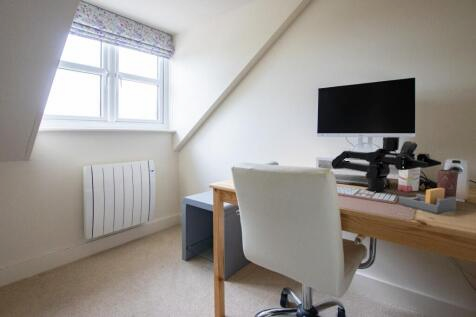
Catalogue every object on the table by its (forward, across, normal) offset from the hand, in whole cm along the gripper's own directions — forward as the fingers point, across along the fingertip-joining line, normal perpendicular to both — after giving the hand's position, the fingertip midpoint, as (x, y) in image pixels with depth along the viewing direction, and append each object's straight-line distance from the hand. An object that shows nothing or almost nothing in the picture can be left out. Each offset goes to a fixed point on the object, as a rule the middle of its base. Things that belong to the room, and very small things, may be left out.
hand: (434, 163), depth 102 cm
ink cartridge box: (-19, +16, +17) cm, 30 cm away
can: (+3, +5, +17) cm, 18 cm away
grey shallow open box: (+2, -6, +17) cm, 18 cm away
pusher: (+5, -6, +16) cm, 18 cm away
